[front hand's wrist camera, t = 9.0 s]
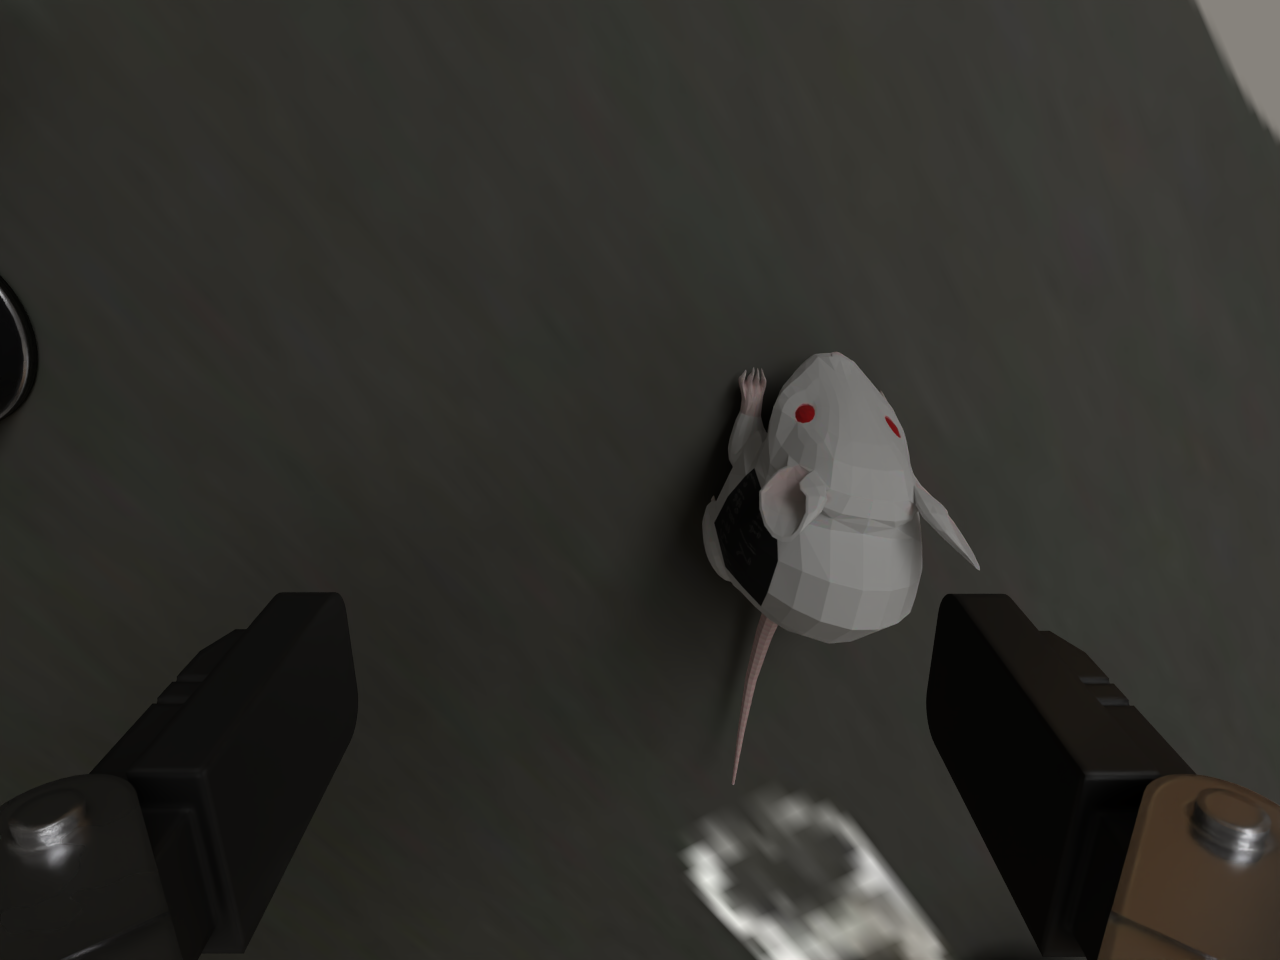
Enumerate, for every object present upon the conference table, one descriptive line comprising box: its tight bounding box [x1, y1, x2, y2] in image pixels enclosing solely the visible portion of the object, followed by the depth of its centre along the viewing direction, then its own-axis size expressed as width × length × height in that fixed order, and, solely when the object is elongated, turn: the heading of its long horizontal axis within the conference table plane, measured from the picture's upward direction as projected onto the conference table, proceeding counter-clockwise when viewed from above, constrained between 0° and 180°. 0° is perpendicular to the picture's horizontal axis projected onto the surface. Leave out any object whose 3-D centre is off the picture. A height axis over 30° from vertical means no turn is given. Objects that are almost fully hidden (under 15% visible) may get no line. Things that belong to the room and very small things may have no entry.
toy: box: [702, 352, 980, 785], centre depth 37 cm, size 9×24×15 cm, turn 171°
